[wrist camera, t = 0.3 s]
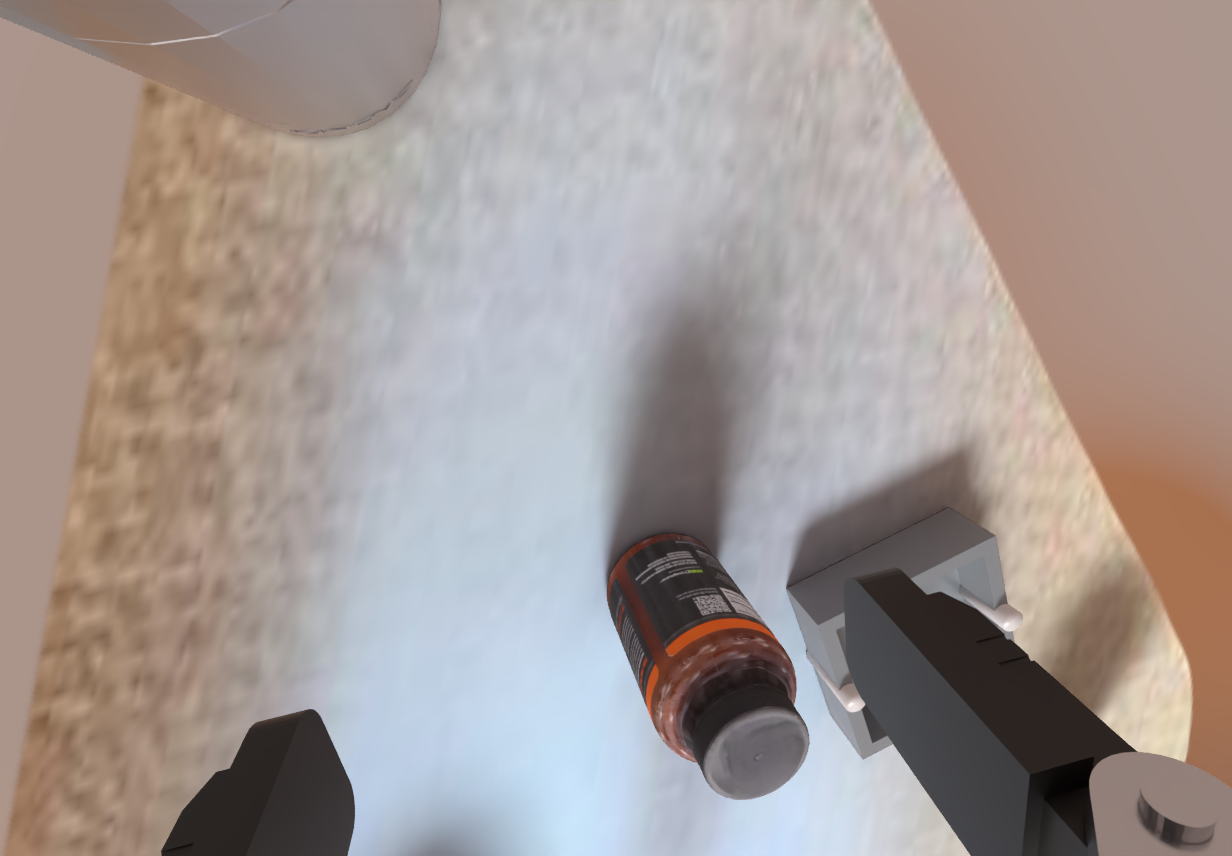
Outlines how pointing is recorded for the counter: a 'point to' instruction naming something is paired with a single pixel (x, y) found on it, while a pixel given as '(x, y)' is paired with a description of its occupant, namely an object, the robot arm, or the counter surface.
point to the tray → (935, 561)
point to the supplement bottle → (707, 666)
